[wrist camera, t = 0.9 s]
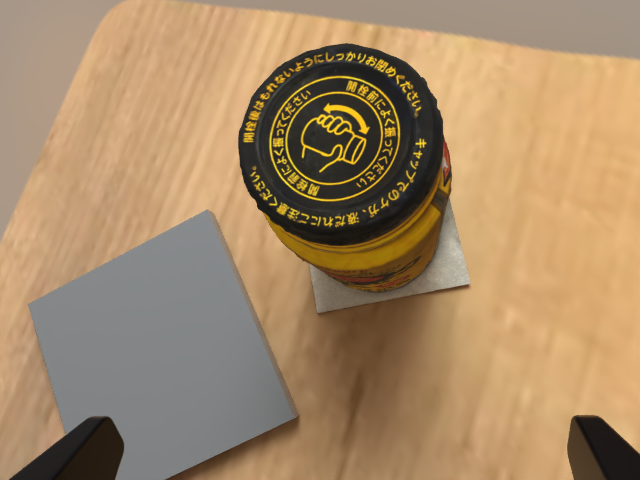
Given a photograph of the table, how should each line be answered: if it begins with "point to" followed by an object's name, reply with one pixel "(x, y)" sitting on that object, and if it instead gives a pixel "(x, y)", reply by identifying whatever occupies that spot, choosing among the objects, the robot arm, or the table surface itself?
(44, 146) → the table surface
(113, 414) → the coaster board
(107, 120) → the table surface
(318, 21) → the table surface
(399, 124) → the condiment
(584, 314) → the table surface
